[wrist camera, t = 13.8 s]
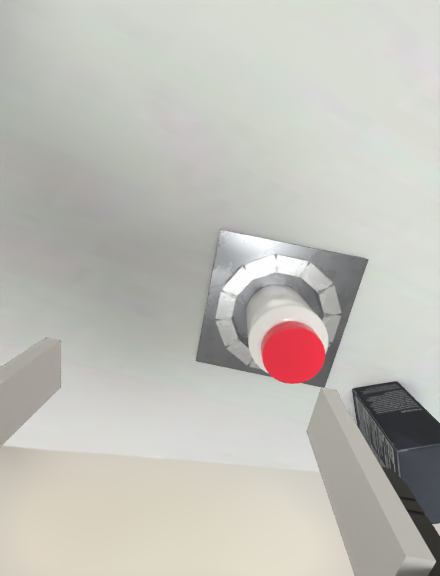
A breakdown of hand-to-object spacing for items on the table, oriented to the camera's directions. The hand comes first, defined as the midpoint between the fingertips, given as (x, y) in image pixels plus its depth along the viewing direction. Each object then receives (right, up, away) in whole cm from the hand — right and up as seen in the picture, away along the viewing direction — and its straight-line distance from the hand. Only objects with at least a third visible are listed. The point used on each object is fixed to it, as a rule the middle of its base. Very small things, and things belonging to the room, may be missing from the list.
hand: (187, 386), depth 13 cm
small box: (+24, -13, +24) cm, 37 cm away
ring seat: (+9, +2, +21) cm, 23 cm away
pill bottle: (+9, +2, +21) cm, 22 cm away
